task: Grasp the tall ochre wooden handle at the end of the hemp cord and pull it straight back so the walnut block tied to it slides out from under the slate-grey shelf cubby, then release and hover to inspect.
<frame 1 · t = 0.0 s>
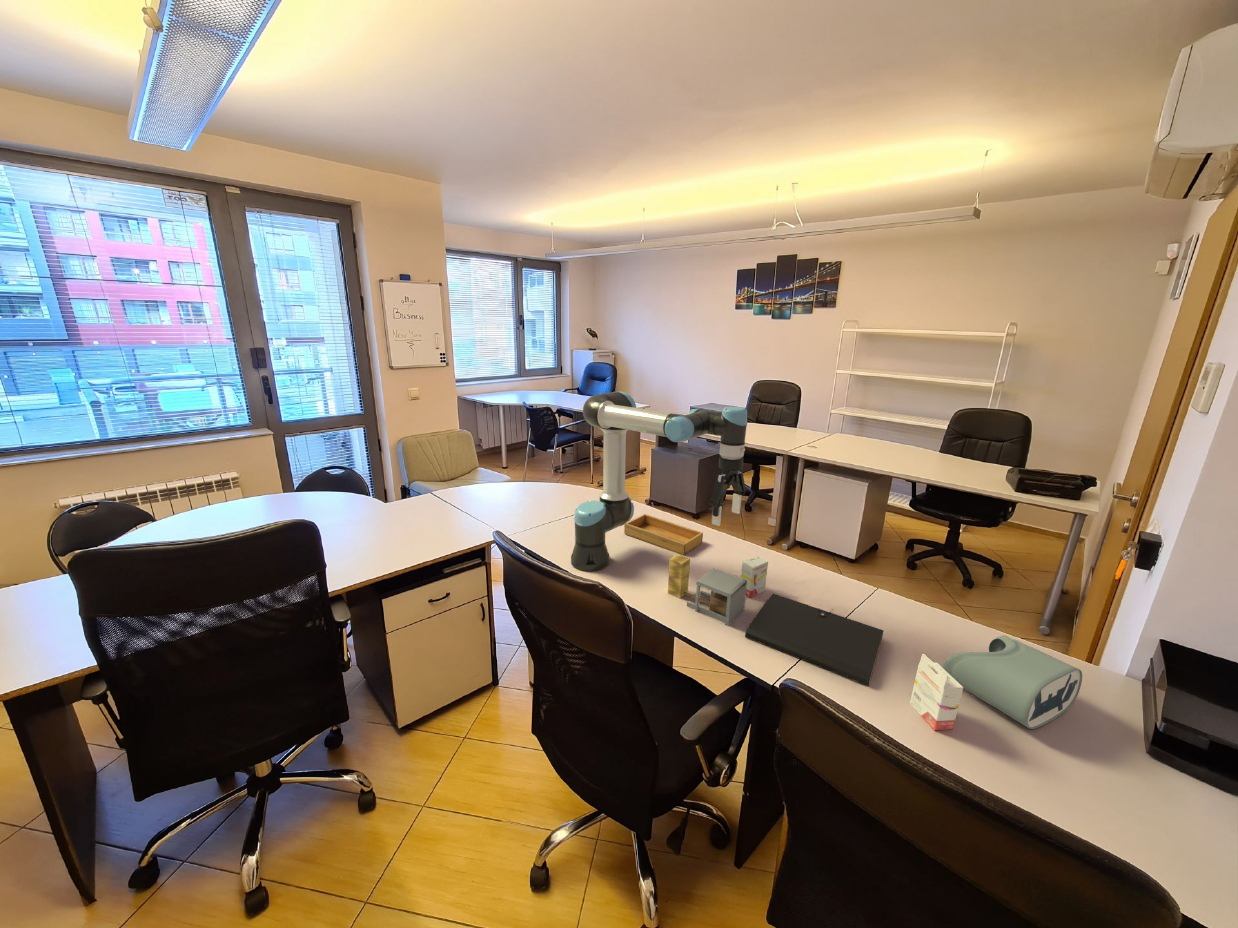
hand: (726, 518, 153), 28 cm above the table, fingers open, 13 cm apart
ink box: (752, 592, 162), on the table
green hollow piece: (1003, 695, 117), on the table
file folder: (813, 640, 138), on the table
shelf cubby: (719, 610, 151), on the table
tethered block: (701, 584, 153), point 7 cm above the table, slide at 0.0 cm
ink cartridge box: (930, 716, 111), on the table
tray: (662, 540, 202), on the table
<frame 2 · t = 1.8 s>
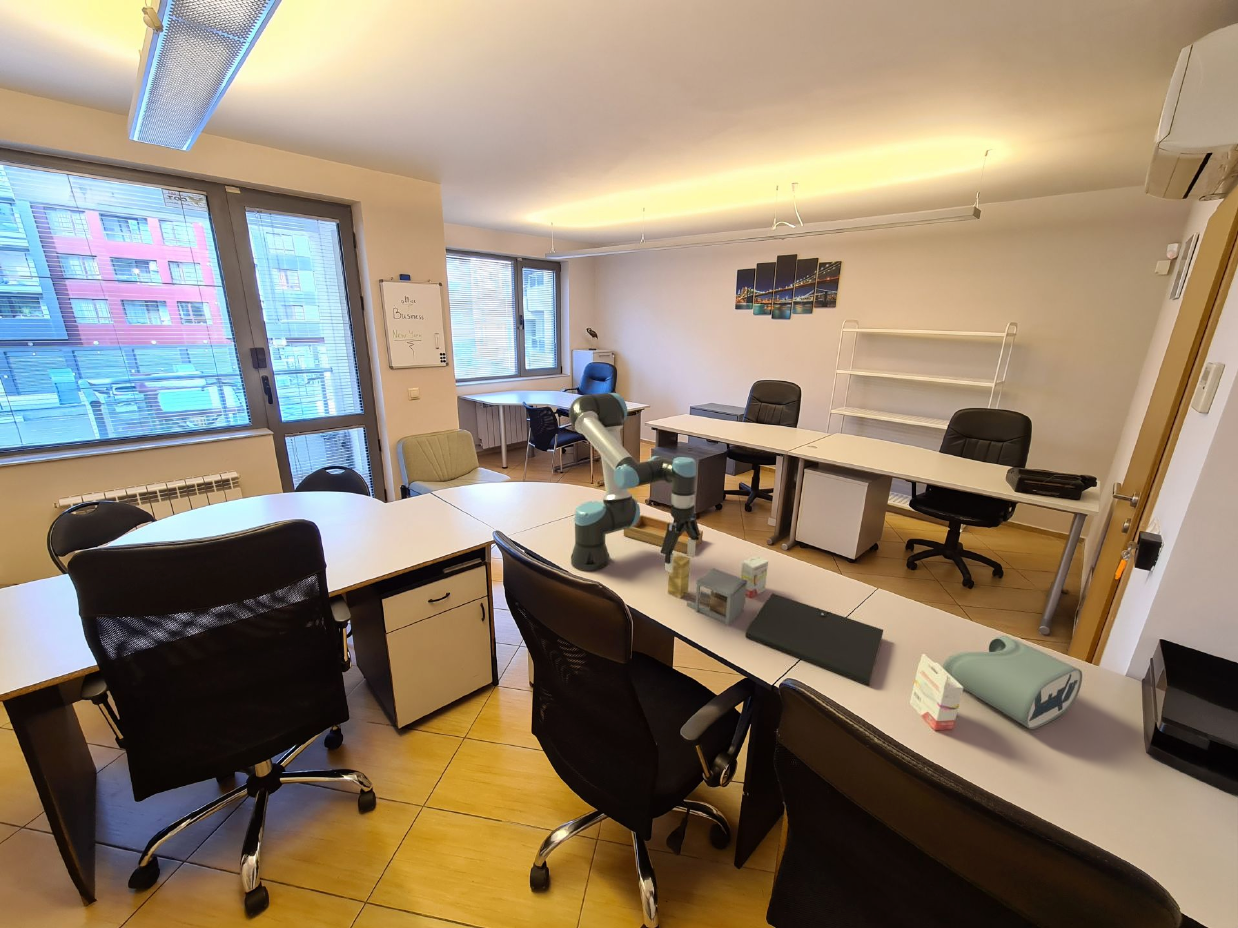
hand: (680, 563, 157), 11 cm above the table, fingers open, 13 cm apart
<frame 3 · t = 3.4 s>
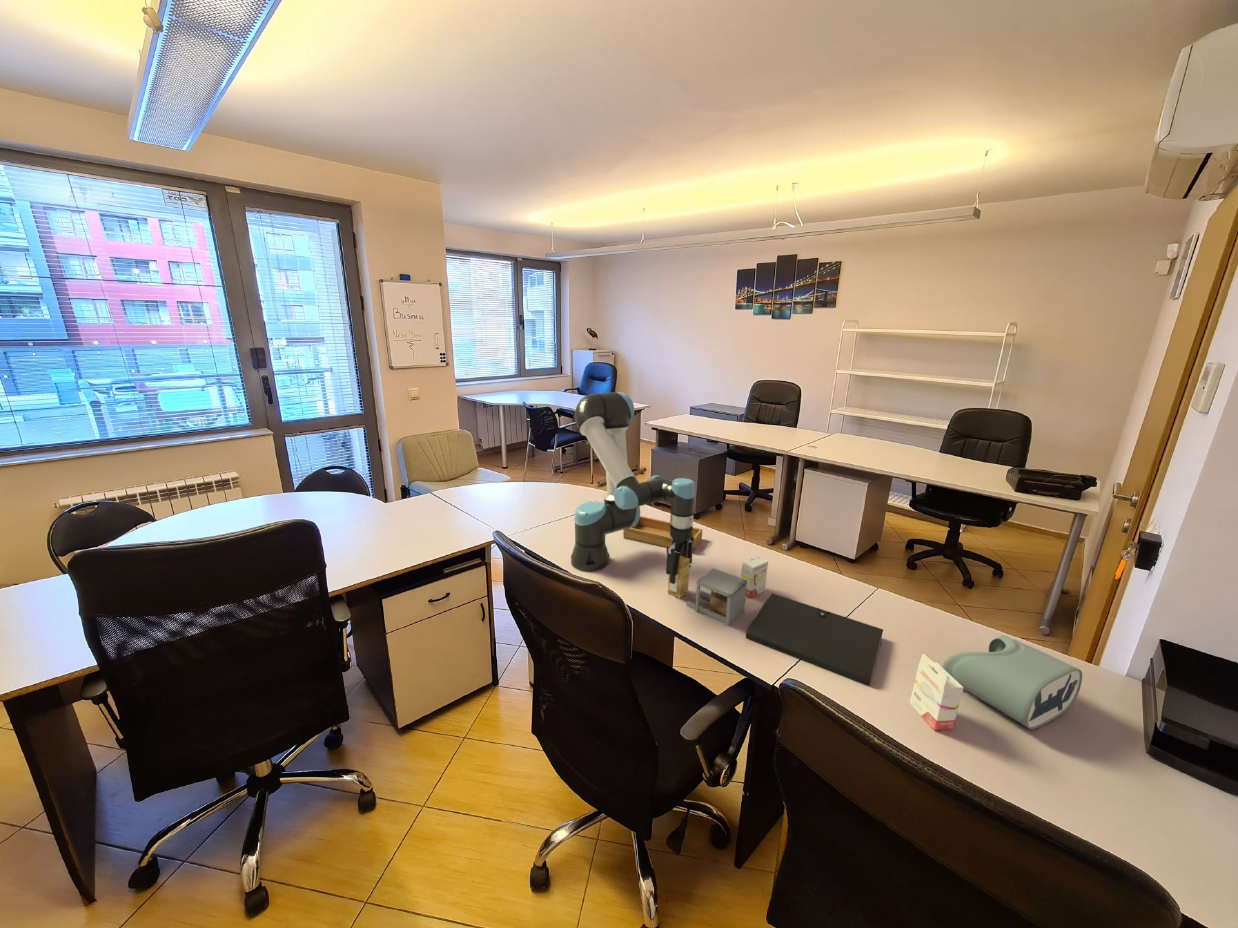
hand: (678, 587, 160), 2 cm above the table, fingers closed on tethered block, 5 cm apart
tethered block: (701, 584, 153), point 7 cm above the table, slide at 0.0 cm, touching gripper
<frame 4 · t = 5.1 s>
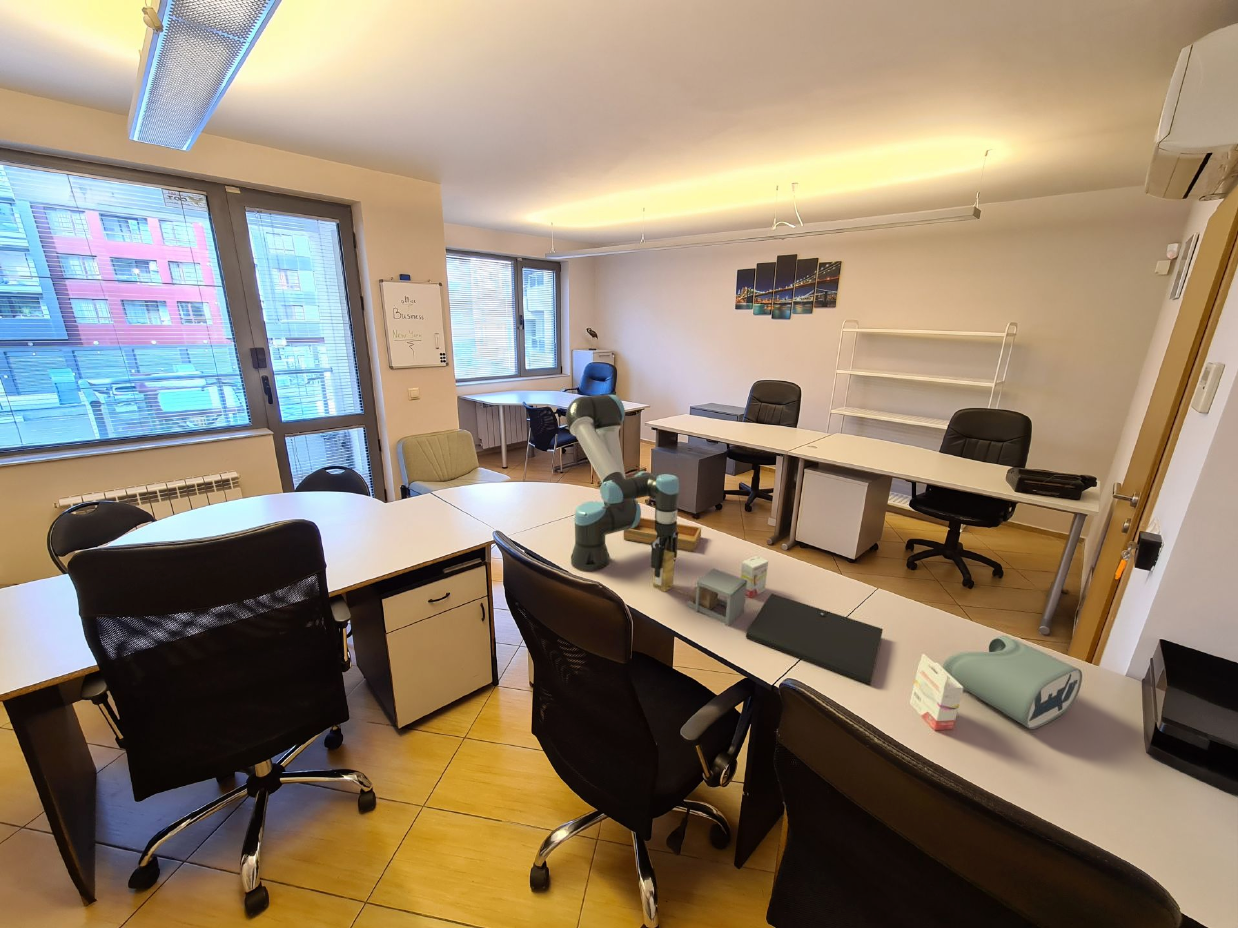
hand: (663, 580, 164), 2 cm above the table, fingers closed on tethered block, 5 cm apart
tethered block: (684, 578, 157), point 7 cm above the table, slide at 6.3 cm, touching gripper
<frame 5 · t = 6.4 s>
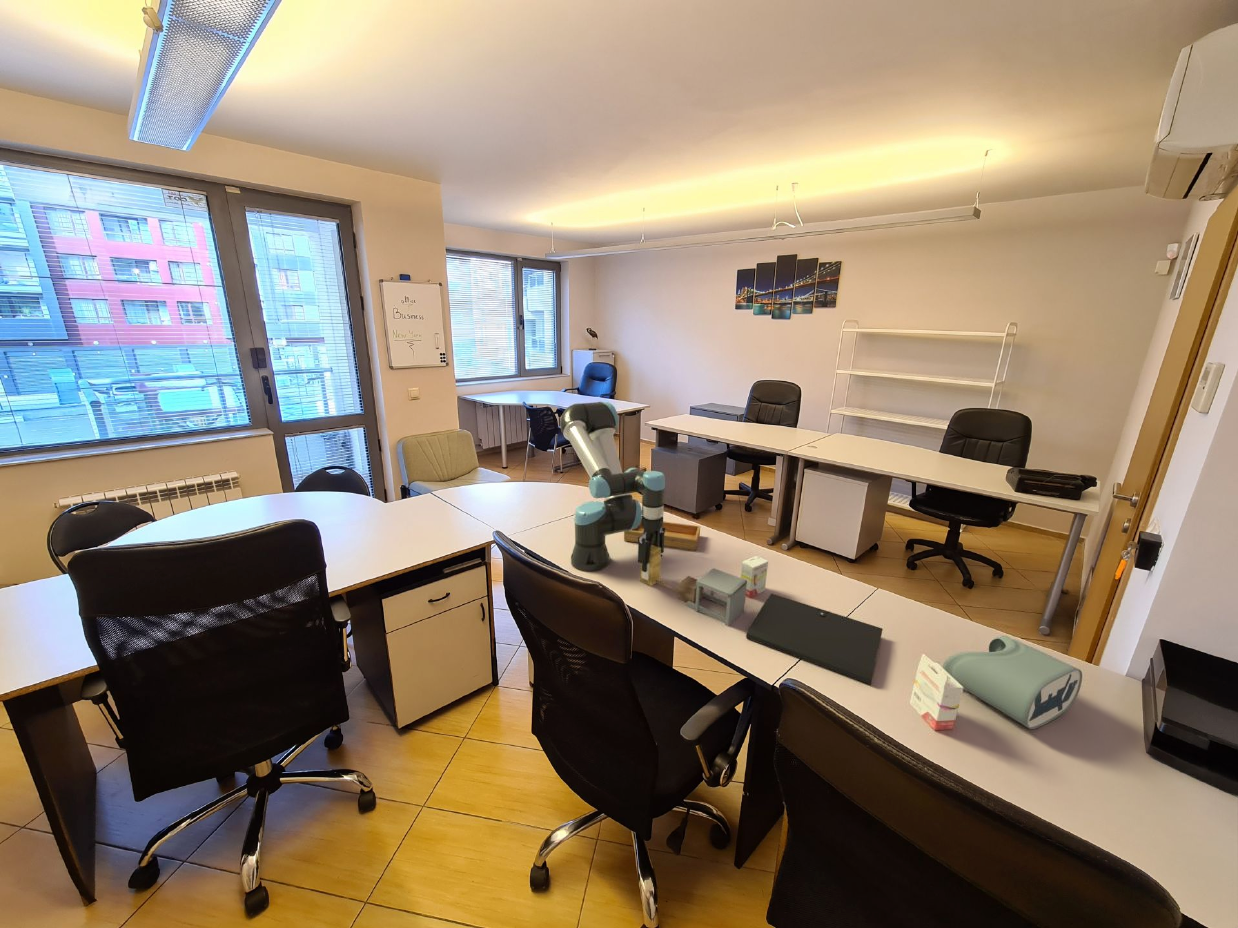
hand: (650, 575, 167), 2 cm above the table, fingers closed on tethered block, 5 cm apart
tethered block: (671, 572, 161), point 7 cm above the table, slide at 11.9 cm, touching gripper
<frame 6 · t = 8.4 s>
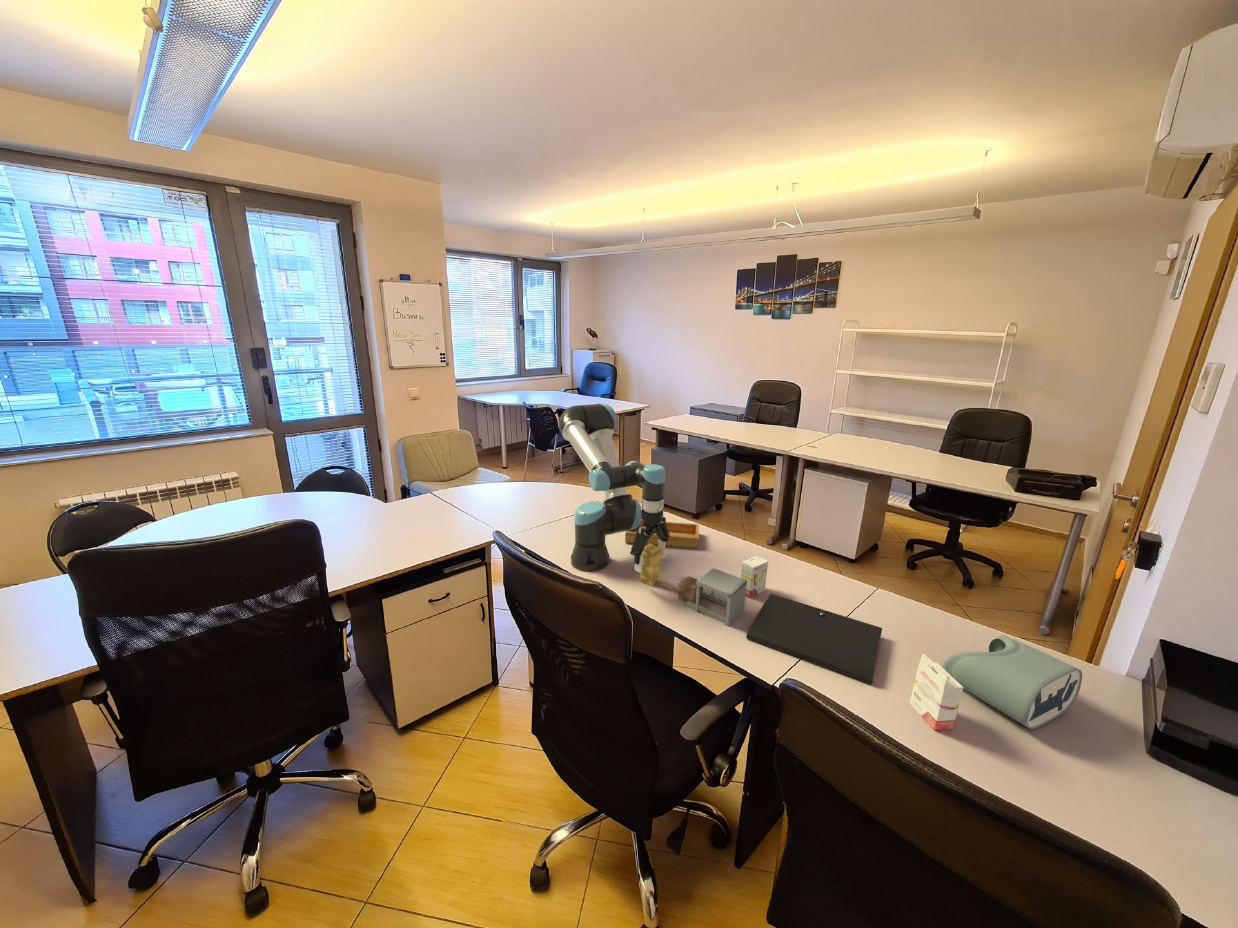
hand: (649, 563, 167), 7 cm above the table, fingers open, 13 cm apart
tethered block: (670, 572, 161), point 7 cm above the table, slide at 12.1 cm
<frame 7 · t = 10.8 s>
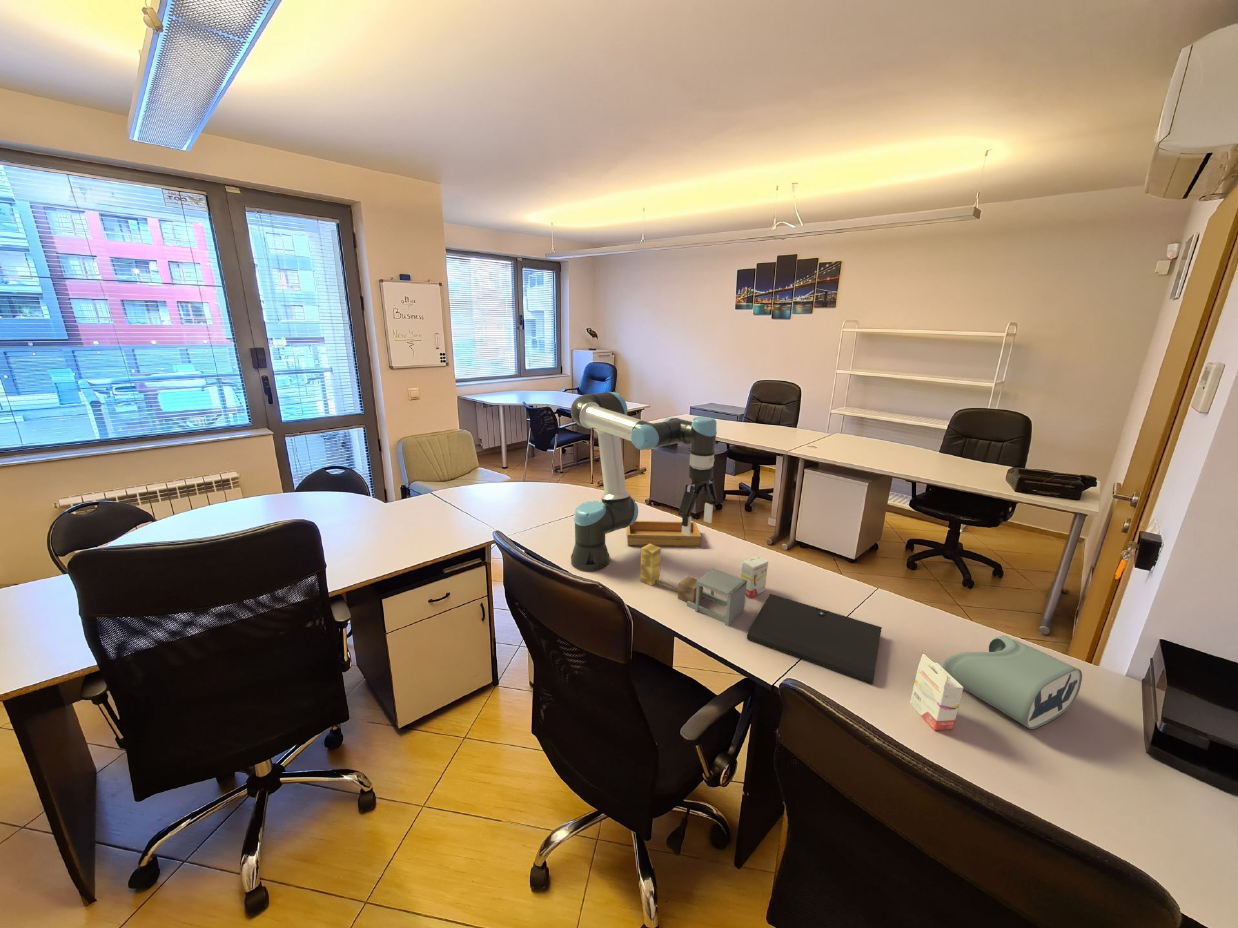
hand: (697, 528, 153), 25 cm above the table, fingers open, 13 cm apart
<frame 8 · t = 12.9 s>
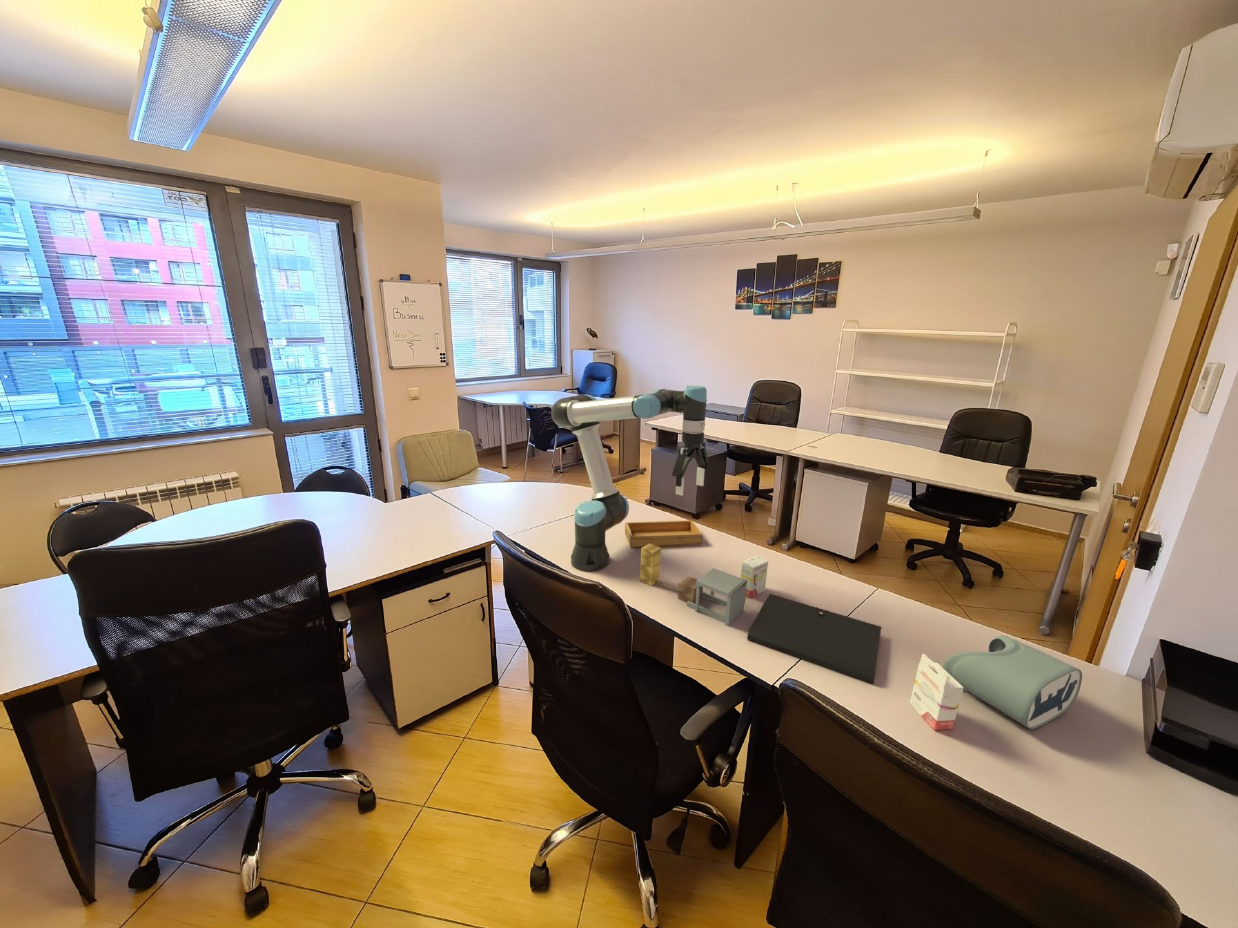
hand: (689, 489, 165), 33 cm above the table, fingers open, 13 cm apart
at the end: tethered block slide at 12.1 cm; the gripper is holding nothing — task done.
